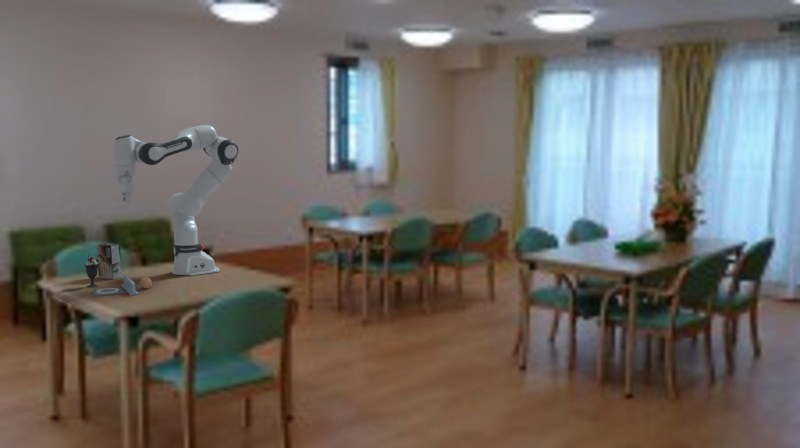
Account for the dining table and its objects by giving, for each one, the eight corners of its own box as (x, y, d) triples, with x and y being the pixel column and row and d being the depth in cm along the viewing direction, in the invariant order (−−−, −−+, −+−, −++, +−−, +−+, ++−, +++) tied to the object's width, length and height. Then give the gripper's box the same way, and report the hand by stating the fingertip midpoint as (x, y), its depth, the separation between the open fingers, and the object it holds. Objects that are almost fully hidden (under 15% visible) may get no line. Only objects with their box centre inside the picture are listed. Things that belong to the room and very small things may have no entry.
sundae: (85, 288, 338) (83, 255, 336) (84, 285, 344) (82, 252, 342) (101, 286, 341) (99, 253, 340) (99, 284, 347) (98, 251, 345)
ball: (150, 286, 341) (150, 275, 341) (153, 289, 337) (152, 277, 336) (139, 288, 339) (138, 277, 338) (141, 290, 334) (140, 279, 334)
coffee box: (122, 277, 364) (121, 243, 362) (113, 279, 358) (111, 245, 356) (107, 275, 367) (105, 242, 365) (97, 278, 361) (96, 244, 359)
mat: (120, 288, 338) (120, 286, 338) (124, 293, 328) (124, 291, 328) (91, 291, 332) (91, 289, 332) (95, 296, 322) (95, 294, 322)
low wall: (128, 285, 345) (128, 274, 344) (137, 294, 326) (137, 283, 325) (121, 286, 343) (121, 275, 343) (130, 295, 324) (130, 283, 324)
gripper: (136, 172, 337) (137, 203, 339) (129, 170, 355) (130, 199, 356) (121, 172, 334) (123, 204, 336) (114, 170, 352) (116, 200, 353)
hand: (126, 201), depth 346 cm, fingers open, 8 cm apart
